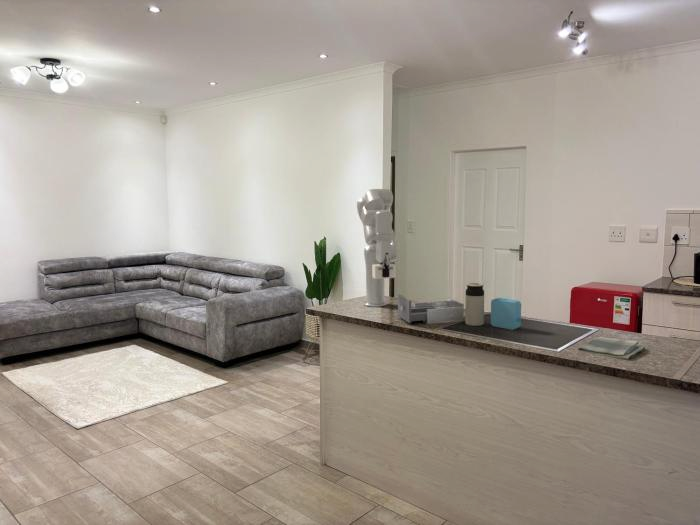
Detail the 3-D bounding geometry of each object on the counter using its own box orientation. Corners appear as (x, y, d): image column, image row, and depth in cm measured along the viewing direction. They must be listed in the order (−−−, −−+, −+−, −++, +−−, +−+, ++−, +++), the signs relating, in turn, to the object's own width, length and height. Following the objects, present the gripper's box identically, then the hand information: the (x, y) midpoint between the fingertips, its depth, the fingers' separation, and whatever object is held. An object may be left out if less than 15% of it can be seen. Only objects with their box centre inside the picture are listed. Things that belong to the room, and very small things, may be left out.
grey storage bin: (414, 316, 253) (414, 299, 252) (448, 313, 257) (448, 297, 256) (427, 324, 237) (427, 306, 236) (463, 321, 241) (463, 303, 240)
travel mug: (471, 326, 231) (471, 285, 229) (461, 322, 239) (462, 283, 236) (487, 325, 234) (488, 284, 231) (477, 321, 241) (478, 281, 239)
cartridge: (372, 277, 252) (372, 264, 251) (392, 276, 254) (392, 263, 253) (375, 278, 247) (375, 265, 246) (395, 277, 249) (395, 264, 249)
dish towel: (576, 351, 196) (576, 343, 195) (595, 341, 208) (595, 333, 207) (630, 362, 182) (631, 353, 182) (647, 351, 195) (648, 342, 194)
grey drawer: (395, 315, 250) (395, 294, 249) (432, 313, 254) (432, 292, 253) (406, 323, 235) (406, 300, 234) (445, 320, 240) (445, 298, 238)
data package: (520, 328, 227) (521, 300, 225) (515, 330, 224) (516, 302, 222) (495, 323, 236) (496, 297, 234) (490, 325, 233) (490, 298, 231)
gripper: (371, 236, 256) (371, 274, 258) (380, 239, 239) (381, 279, 241) (386, 236, 257) (386, 273, 260) (396, 238, 241) (397, 278, 243)
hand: (384, 275), depth 251 cm, fingers closed on cartridge, 5 cm apart
